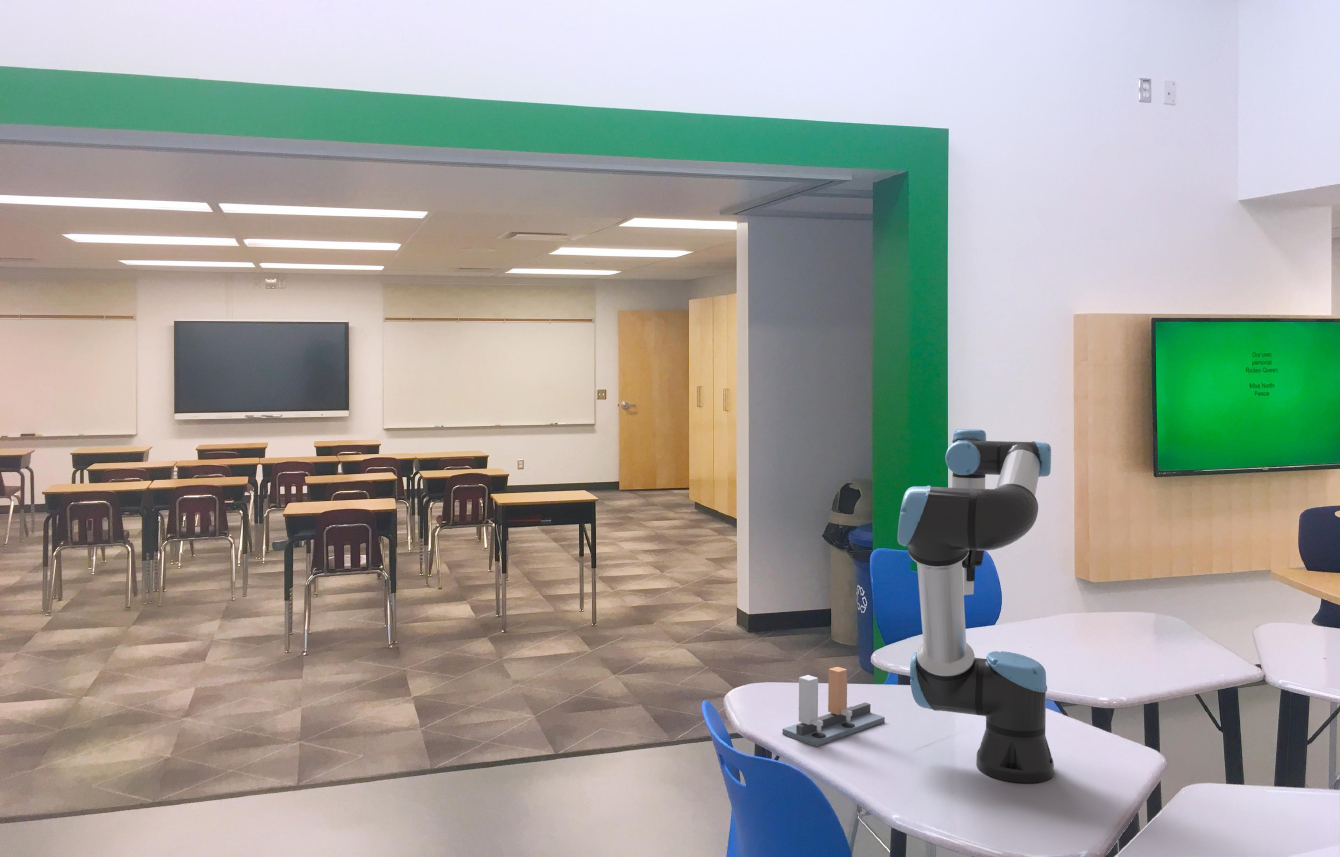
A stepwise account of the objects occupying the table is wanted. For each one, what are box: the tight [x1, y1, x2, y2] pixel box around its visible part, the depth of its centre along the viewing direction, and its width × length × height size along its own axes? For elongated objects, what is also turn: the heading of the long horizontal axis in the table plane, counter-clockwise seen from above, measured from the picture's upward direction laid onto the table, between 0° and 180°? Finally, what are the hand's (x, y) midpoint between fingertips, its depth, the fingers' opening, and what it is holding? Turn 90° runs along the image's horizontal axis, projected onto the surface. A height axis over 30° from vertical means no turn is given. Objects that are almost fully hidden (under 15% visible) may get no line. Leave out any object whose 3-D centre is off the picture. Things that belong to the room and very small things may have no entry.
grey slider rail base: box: [782, 674, 886, 747], centre depth 231 cm, size 24×10×14 cm, turn 130°
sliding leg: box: [827, 666, 852, 722], centre depth 231 cm, size 3×5×11 cm, turn 40°
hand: (966, 593), depth 238 cm, fingers closed
